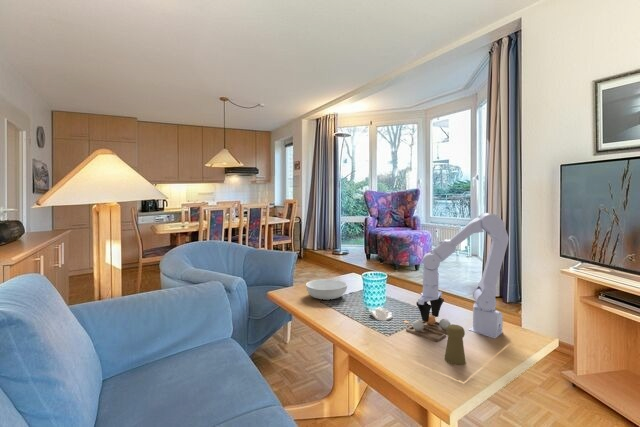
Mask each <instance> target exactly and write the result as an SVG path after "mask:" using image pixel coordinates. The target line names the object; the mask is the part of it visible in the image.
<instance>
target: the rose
mask: <svg viewBox="0 0 640 427" xmlns="http://www.w3.org/2000/svg"><path fill="white" fill-rule="evenodd" d="M369 313H370V314H371V316H372V317H373V318H374V319H376V320H377V321H382V322H383V321H384V322H386V321H389V320H391V319H392V318H393V315H392V314H393V313H392V312H390V311H389V310H388V309H387V308H382V307H381V306H378V307H377V308H375V309H374V310H369Z"/></svg>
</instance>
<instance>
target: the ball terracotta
mask: <svg viewBox="0 0 640 427" xmlns="http://www.w3.org/2000/svg"><path fill="white" fill-rule="evenodd" d="M435 322H437V320H436V317H435V316H433V315H432V314H429V320H428V322H426V324H428V325H434V324H435Z"/></svg>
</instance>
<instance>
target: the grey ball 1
mask: <svg viewBox="0 0 640 427" xmlns="http://www.w3.org/2000/svg"><path fill="white" fill-rule="evenodd" d="M421 321H422V320H419V319H417V320H415V321H413V323H412V324H413V325H412V326H413V328H414V330H416V331H418V332H420V331H422V330H423V329H424V324H423V322H421Z"/></svg>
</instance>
